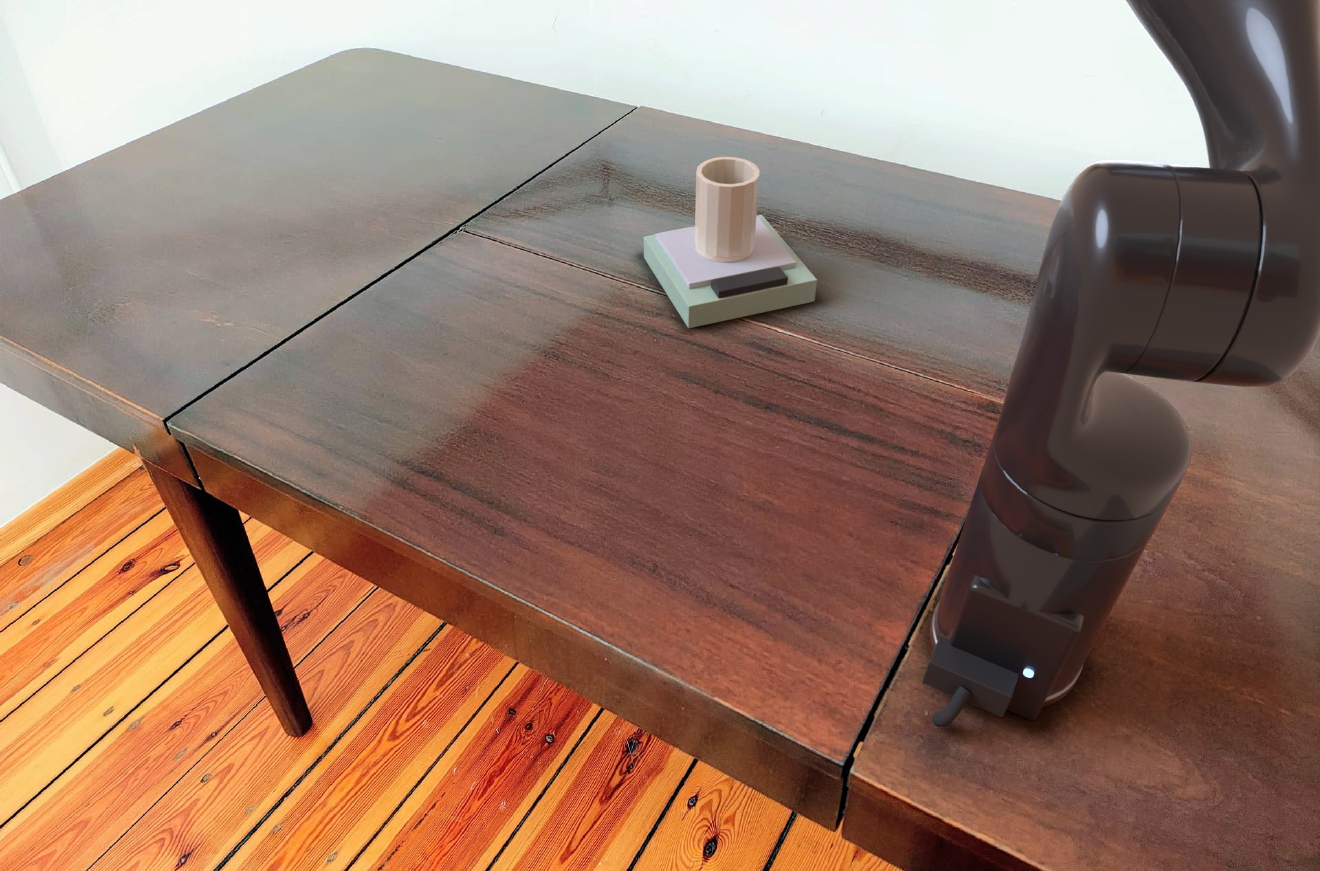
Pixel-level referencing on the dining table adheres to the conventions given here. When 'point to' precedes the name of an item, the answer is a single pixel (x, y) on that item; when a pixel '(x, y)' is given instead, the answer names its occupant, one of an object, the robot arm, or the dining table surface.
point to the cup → (726, 208)
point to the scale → (728, 276)
